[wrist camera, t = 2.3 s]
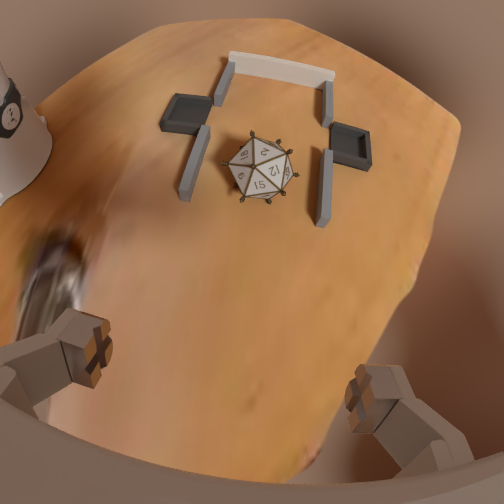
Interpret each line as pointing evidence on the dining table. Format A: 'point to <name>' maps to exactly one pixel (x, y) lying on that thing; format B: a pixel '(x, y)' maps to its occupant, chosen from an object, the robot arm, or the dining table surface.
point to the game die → (261, 169)
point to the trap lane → (342, 136)
